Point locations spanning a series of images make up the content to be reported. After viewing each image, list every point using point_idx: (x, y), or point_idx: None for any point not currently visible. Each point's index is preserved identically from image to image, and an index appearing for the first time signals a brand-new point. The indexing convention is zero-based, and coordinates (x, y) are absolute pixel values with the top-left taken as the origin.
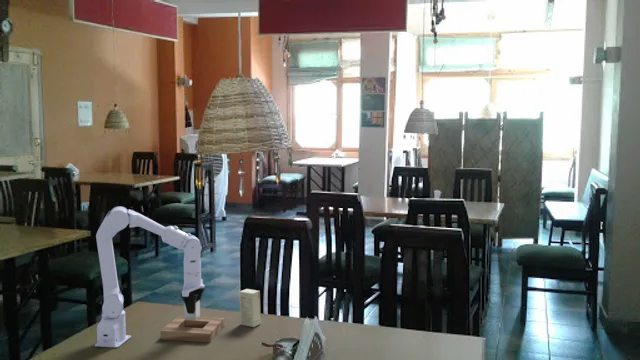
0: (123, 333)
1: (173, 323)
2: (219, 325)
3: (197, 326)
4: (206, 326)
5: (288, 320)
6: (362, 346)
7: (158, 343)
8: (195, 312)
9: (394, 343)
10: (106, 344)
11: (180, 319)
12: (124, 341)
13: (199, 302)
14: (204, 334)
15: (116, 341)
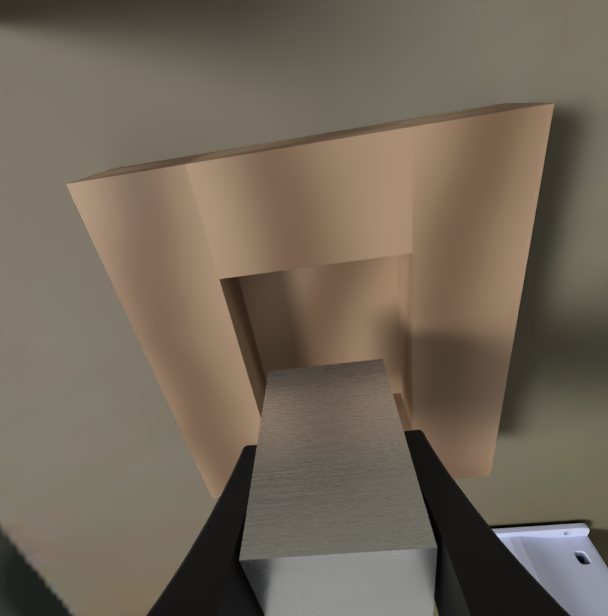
0: (537, 574)
1: None
2: (232, 153)
3: (252, 343)
4: (351, 244)
5: None
6: None
7: (525, 417)
8: (400, 424)
9: None
10: (582, 561)
11: None
12: (524, 530)
13: (261, 516)
14: (533, 171)
15: (574, 553)
